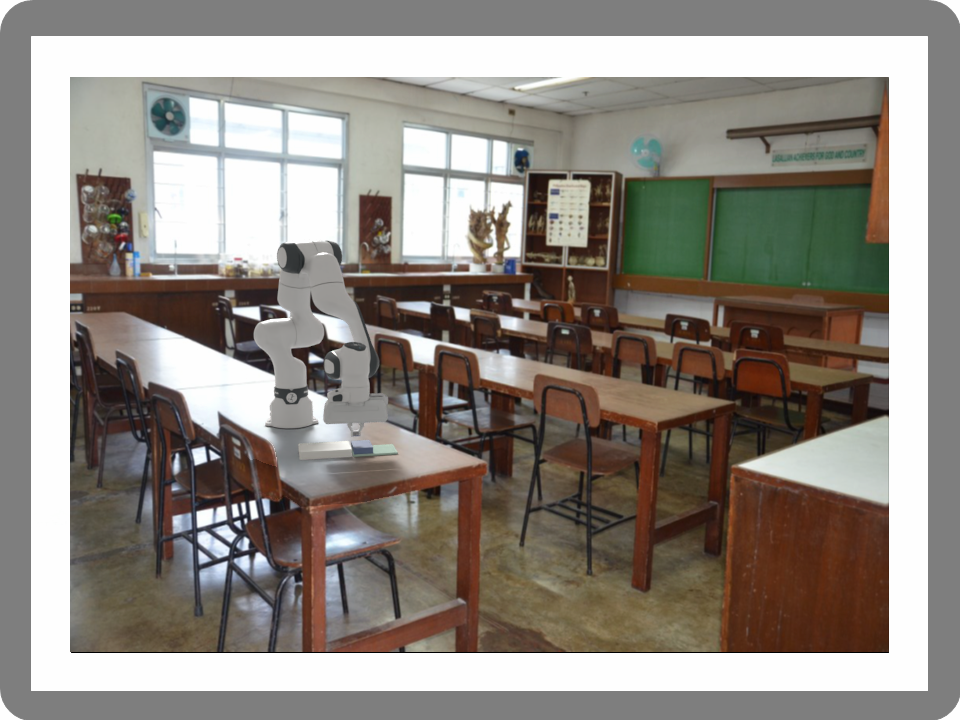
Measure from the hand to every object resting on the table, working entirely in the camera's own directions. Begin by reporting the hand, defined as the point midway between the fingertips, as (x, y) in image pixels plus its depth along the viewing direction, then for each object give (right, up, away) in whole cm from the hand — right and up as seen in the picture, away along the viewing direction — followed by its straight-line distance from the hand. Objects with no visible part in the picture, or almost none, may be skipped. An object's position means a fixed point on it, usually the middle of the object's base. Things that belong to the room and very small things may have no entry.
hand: (355, 436), depth 252 cm
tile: (+2, -5, +1) cm, 5 cm away
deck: (-9, -6, -2) cm, 11 cm away
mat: (+6, -5, +2) cm, 8 cm away
